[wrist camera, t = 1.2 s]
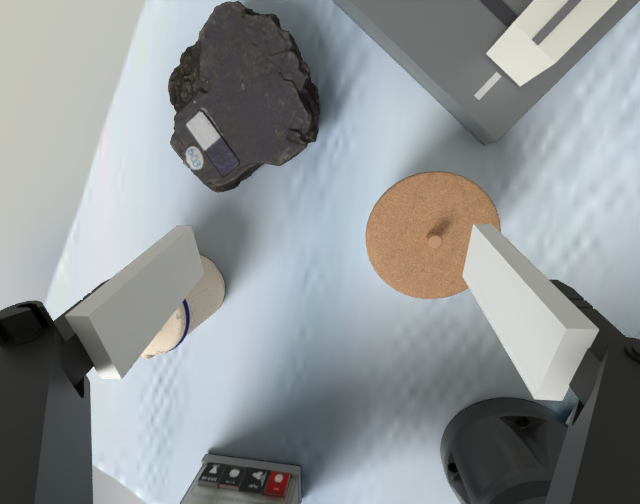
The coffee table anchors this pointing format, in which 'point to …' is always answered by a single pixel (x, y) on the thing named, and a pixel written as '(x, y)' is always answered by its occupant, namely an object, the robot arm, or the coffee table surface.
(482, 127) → the fader console
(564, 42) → the fader knob
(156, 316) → the robot arm
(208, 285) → the teacup with lid
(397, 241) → the lidded jar
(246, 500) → the cassette tape recorder
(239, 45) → the rock sample
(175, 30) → the coffee table surface
